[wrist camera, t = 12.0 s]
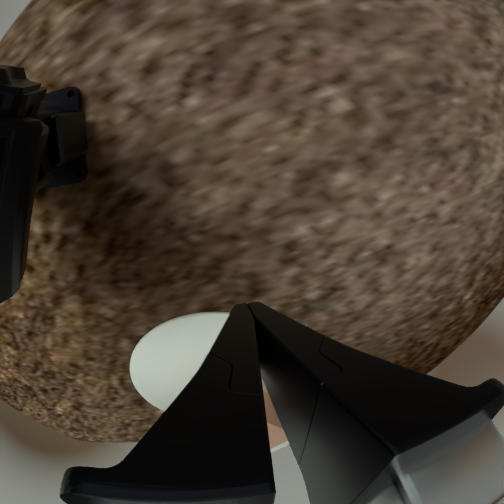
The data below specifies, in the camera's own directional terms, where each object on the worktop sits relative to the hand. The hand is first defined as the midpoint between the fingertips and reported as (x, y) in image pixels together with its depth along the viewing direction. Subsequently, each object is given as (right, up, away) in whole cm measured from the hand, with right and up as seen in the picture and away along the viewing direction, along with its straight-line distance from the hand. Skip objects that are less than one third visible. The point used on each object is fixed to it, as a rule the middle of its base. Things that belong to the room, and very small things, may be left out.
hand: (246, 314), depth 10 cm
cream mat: (-4, -10, +18) cm, 21 cm away
